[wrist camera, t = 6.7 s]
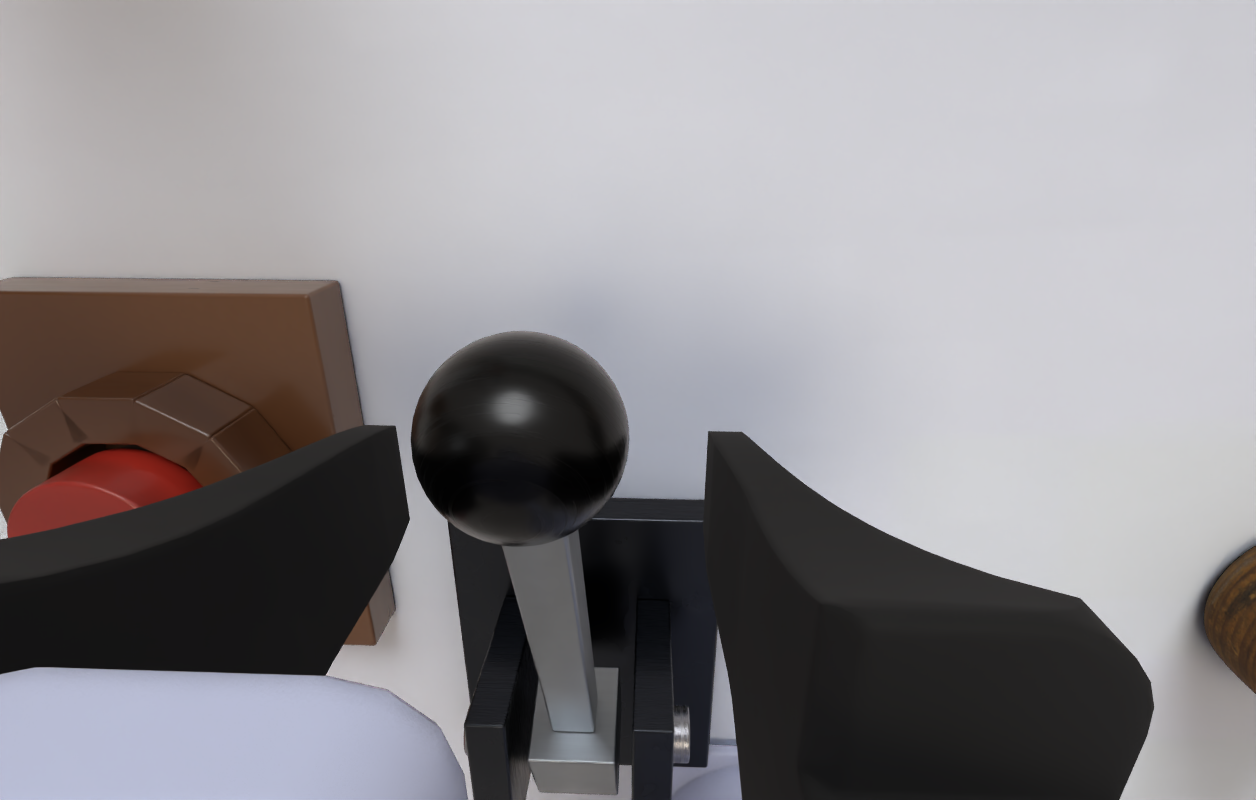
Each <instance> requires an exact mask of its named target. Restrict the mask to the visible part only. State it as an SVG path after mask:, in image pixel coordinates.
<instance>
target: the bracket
mask: <svg viewBox="0 0 1256 800" xmlns="http://www.w3.org/2000/svg"><path fill="white" fill-rule="evenodd" d="M703 517H704V500H682V499H635V498H610V500H609V501H608V502H607V504H606V505H605V506H604V507H603V509H602V510H601V511H600V512H599V513H598V514H597V515H596V516H595V517H594V518H593V519H592V520H590V521H589V522H588V523H587V524H586V525H584V526H583V527H581V528H580V529H578V532H579V541H580V549H581V558H582V566H583V575H584V583H585V592H586V600H587V609H588V617H589V626H590V635H591V643H592V652H593V660H594V667H618V668H619V669H620V684H621V704H622V709H621V734H620V759H619V765H632V800H672V781H673V767H694V768H706V767H707V766H708V754H709V741H710V727H711V713H712V699H713V685H714V671H715V657H716V644H717V630H718V625H717V620H716V615H715V610H714V606H713V601H712V596H711V591H710V586H709V582H708V577H707V572H706V560H705V547H704V533H703ZM447 521H448V520H447ZM448 529H449V537H450V545H451V553H452V561H453V569H454V577H455V585H456V592H457V600H458V608H459V616H460V624H461V632H462V640H463V648H464V656H465V664H466V672H467V680H468V688H469V696H470V706H469V709H468V712H467V716H466V720H465V723H464V750H465V753H466V755H468V759H469V767H470V774H471V782H472V789H473V797H474V800H526V795H527V789H528V784H529V779H530V774H531V770H530V767H529V764H528V762H527V755H528V748H529V740H530V733H531V725H532V718H533V710H534V703H535V695H536V688H537V680H538V675H537V671H536V668H535V664H534V660H533V657H532V653H531V649H530V646H529V642H528V639H527V635H526V631H525V628H524V624H523V620H522V617H521V613H520V609H519V606H518V602H517V599H516V595H515V591H514V588H513V584H512V580H511V577H510V573H509V569H508V566H507V562H506V559H505V555H504V551H503V548H502V546H501V545H496V544H492V543H488V542H485V541H482V540H480V539H477V538H475V537H473V536H471V535H468V534H467V533H465V532H463V531H461V530H460V529H458V528H457V527H455V526H454V525H453V524H452V523H450V522H449V521H448Z"/></svg>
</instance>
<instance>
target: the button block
mask: <svg viewBox="0 0 1256 800" xmlns="http://www.w3.org/2000/svg"><path fill="white" fill-rule="evenodd" d="M0 411H1V414H2V416H3V418H4V421H5V423H6V426H7V428H8V431H7V432H5V433H4V435H3V439H2V444H1V449H0V509H1V511H2V514H3V516H4V518H5V520H6V523H7V525H8V519H9V516H10V513H11V511H12V509H13V507H14V505H15V504H16V502H17V501H18V500H19V499H20V498H21V496H22V495H24V494H25V493H26V492H27V491H29V490H30V489H32V488H34V487H36V486H37V485H39V484H41V483H43V482H44V481H46V480H48V479H50V478H51V477H53V476H55V475H57V474H59V473H60V472H62V471H64V470H66V469H67V468H69V467H71V466H73V465H74V464H76V463H78V462H80V461H81V460H83V459H85V458H87V457H89V456H91V455H93V454H94V453H97V452H100V451H104V450H109V449H118V448H130V449H139V450H144V451H148V452H152V453H155V454H157V455H159V456H161V457H164V458H166V459H168V460H170V461H172V462H174V463H176V464H179V465H181V466H182V467H184V468H185V469H187V470H188V471H189V472H190V473H191V474H192V476H193V477H194V478H195V479H196V480H197V481H198V482H199V483H200V484H201V485H202V486H203V487H204V486H207V485H210V484H213V483H215V482H218V481H221V480H223V479H226V478H228V477H231V476H233V475H236V474H238V473H241V472H244V471H246V470H249V469H251V468H254V467H256V466H259V465H262V464H264V463H267V462H269V461H271V460H274V459H276V458H279V457H281V456H283V455H286V454H288V453H290V452H293V451H295V450H298V449H300V448H302V447H305V446H307V445H309V444H312V443H314V442H317V441H319V440H321V439H324V438H326V437H329V436H331V435H334V434H337V433H339V432H342V431H345V430H348V429H351V428H354V427H358V426H362V425H363V419H362V413H361V408H360V402H359V396H358V390H357V385H356V379H355V373H354V367H353V361H352V356H351V350H350V344H349V338H348V333H347V327H346V321H345V315H344V309H343V304H342V298H341V292H340V286H339V283H338V282H337V281H323V280H225V279H128V278H30V277H12V278H8V279H3V280H0ZM394 611H395V604H394V598H393V593H392V587H391V581H390V575H389V569H388V571H387V573H386V575H385V576H384V578H383V580H382V581H381V583H380V585H379V586H378V588H377V590H376V591H375V593H374V595H373V597H372V598H371V600H370V601H369V603H368V605H367V606H366V608H365V610H364V611H363V613H362V615H361V616H360V618H359V620H358V621H357V623H356V624H355V626H354V628H353V629H352V631H351V633H350V634H349V636H348V638H347V639H346V641H345V643H344V644H343V645H369V646H374V645H376V644H377V642H378V640H379V638H380V636H381V635H382V633H383V631H384V629H385V627H386V625H387V624H388V622H389V620H390V618H391V616H392V614H393V612H394Z"/></svg>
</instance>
